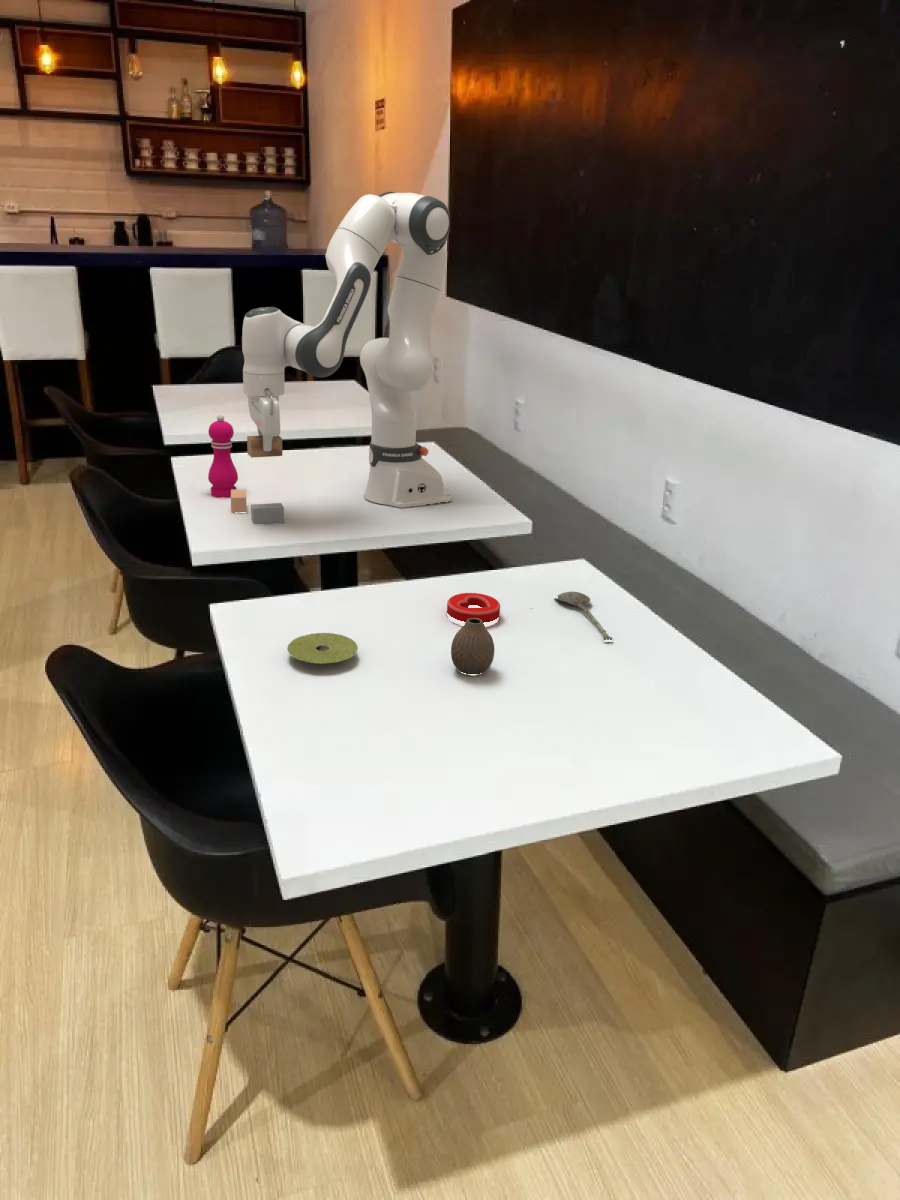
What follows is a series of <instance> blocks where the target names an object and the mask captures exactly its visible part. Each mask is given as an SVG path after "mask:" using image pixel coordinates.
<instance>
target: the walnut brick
mask: <svg viewBox="0 0 900 1200" xmlns="http://www.w3.org/2000/svg"><path fill="white" fill-rule="evenodd" d="M262 442H263V436H258V435H247V436H246V445H247V447H246V448H247V455H248V456H249V457H250V458H251V459H252V458H253V459H254V458H267V457H271V458H272V457H283V438H282V437H281V436H280V435H279V436H273V439H272V450H271V451H264V450H263V445H262Z"/></svg>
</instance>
